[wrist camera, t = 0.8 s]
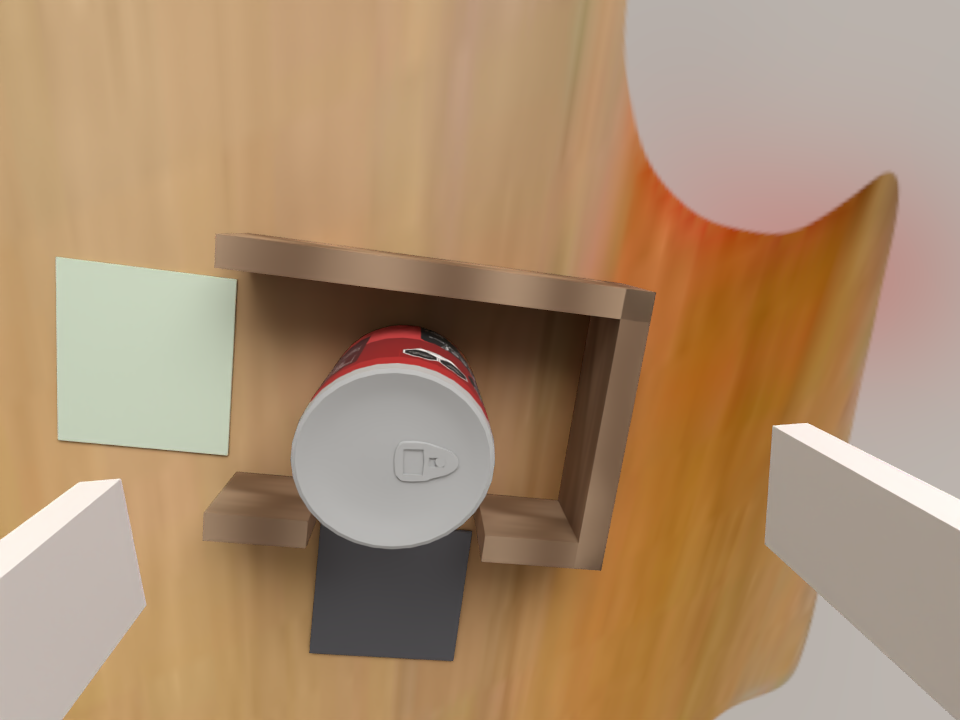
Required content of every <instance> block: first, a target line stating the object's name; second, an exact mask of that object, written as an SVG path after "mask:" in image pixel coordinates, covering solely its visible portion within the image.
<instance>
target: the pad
mask: <svg viewBox="0 0 960 720" xmlns="http://www.w3.org/2000/svg"><path fill="white" fill-rule="evenodd" d="M236 295H237V279H230V278H222V277H214V276H206V275H198V274H190V273H182V272H174V271H166V270H158V269H150V268H142V267H134V266H126V265H118V264H110V263H102V262H94V261H86V260H78V259H70V258H62V257H56V323H57V408H58V440H65V441H76V442H87V443H97V444H108V445H119V446H130V447H141V448H152V449H163V450H174V451H185V452H195V453H206V454H217V455H228V450H229V431H230V411H231V392H232V372H233V353H234V334H235V314H236Z"/></svg>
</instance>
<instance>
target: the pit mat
mask: <svg viewBox="0 0 960 720" xmlns="http://www.w3.org/2000/svg"><path fill="white" fill-rule="evenodd" d="M471 536H472V531H465V530H454V531H453V532H451V533H450V534H448V535H447V536H444V537H442V538H440V539H438V540H435V541H433V542H431V543H428V544H424V545H420V546H416V547H412V548H402V549H383V548H373V547H369V546H365V545H361V544H357V543H354V542H352V541H350V540H347V539H345V538H343V537H341V536H339V535H337V534H335V533H334V532H333V531H331V530H330V529H328V528H327V527H325V526H324V525H323V524H321V527H320V538H319V549H318V561H317V572H316V583H315V595H314V606H313V618H312V629H311V640H310V652H309V653H317V654H335V655H353V656H372V657H390V658H408V659H426V660H444V661H453V659H454V652H455V646H456V639H457V632H458V625H459V618H460V611H461V604H462V598H463V591H464V584H465V577H466V570H467V563H468V556H469V550H470V543H471Z"/></svg>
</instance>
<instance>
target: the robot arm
mask: <svg viewBox="0 0 960 720" xmlns="http://www.w3.org/2000/svg"><path fill="white" fill-rule="evenodd" d="M765 545H766V546H767V547H768V548H770V549H771V550H772V551H773V552H774V553H775V554H776V555H777V556H778V557H779V558H780V559H782V560H783V561H784V562H785V563H786V564H787V565H788V566H789V567H790V568H791V569H792V570H794V571H795V572H796V573H797V574H798V575H799V576H800V577H801V578H802V579H803V580H804V581H805V582H807V583H808V584H809V585H810V586H811V587H812V588H813V589H814V590H815V591H816V592H817V593H819V594H820V595H821V596H822V597H823V598H824V599H825V600H826V601H827V602H828V603H829V604H831V605H832V606H833V607H834V608H835V609H836V610H837V611H838V612H840V614H841V615H843V616H844V617H845V618H846V619H847V620H848V621H849V622H850V623H851V624H852V625H854V626H855V627H856V628H857V629H858V630H859V631H860V632H861V633H862V634H863V635H865V637H867V638H868V639H869V640H870V641H871V642H872V643H873V644H874V645H875V646H876V647H877V648H879V649H880V650H881V651H882V652H883V653H884V654H885V655H886V656H887V657H888V658H889V659H890V660H892V661H893V662H894V663H895V664H896V665H897V666H898V667H899V668H900V669H901V670H902V671H904V672H905V673H906V674H907V675H908V676H909V677H910V678H911V679H912V680H913V681H914V682H915V683H917V684H918V685H919V686H920V687H921V688H922V689H923V690H924V691H925V692H926V693H927V694H929V695H930V696H931V697H932V698H933V699H934V700H935V701H936V702H938V703H939V704H940V705H941V706H942V707H943V708H944V709H945V710H946V711H947V712H948V713H949V714H950V715H952V716H953V717H954V718H955V719H956V720H960V500H959V499H957V498H956V497H954V496H952V495H950V494H947V493H946V492H943V491H942V490H940V489H937V488H936V487H934V486H932V485H930V484H928V483H926V482H923V481H922V480H919V479H917V478H916V477H914V476H911V475H909V474H908V473H906V472H903V471H902V470H900V469H898V468H896V467H894V466H892V465H890V464H888V463H886V462H884V461H882V460H880V459H878V458H876V457H874V456H872V455H870V454H868V453H866V452H864V451H862V450H860V449H858V448H856V447H854V446H852V445H850V444H848V443H846V442H844V441H842V440H840V439H838V438H836V437H834V436H832V435H830V434H828V433H826V432H824V431H822V430H820V429H818V428H816V427H814V426H812V425H810V424H808V423H801V424H789V425H777V426H773V429H772V444H771V459H770V473H769V488H768V503H767V517H766V532H765ZM145 606H146V601H145V596H144V591H143V586H142V581H141V576H140V571H139V566H138V561H137V556H136V551H135V546H134V541H133V536H132V531H131V526H130V521H129V516H128V511H127V506H126V501H125V496H124V491H123V486H122V481H121V479H112V480H99V481H87V482H79V483H77V484H76V485H74V486H73V487H72V488H70V489H69V490H68V491H66V492H65V493H64V494H62V495H61V496H60V497H58V498H57V499H55V500H54V501H53V502H51V503H50V504H49V505H47V506H46V507H45V508H43V509H42V510H40V511H39V512H38V513H36V514H35V515H34V516H32V517H31V518H30V519H28V520H27V521H25V522H24V523H23V524H21V525H20V526H19V527H17V528H16V529H15V530H13V531H12V532H10V533H9V534H8V535H6V536H5V537H4V538H2V539H1V540H0V720H62V719H63V718H64V716H65V715H66V714H67V712H68V711H69V710H70V708H71V707H72V706H73V704H74V703H75V701H76V700H77V699H78V697H79V696H80V695H81V693H82V692H83V691H84V689H85V688H86V687H87V685H88V684H89V682H90V681H91V680H92V678H93V677H94V676H95V674H96V673H97V672H98V670H99V669H100V667H101V666H102V665H103V663H104V662H105V661H106V659H107V658H108V657H109V655H110V654H111V653H112V651H113V650H114V648H115V647H116V646H117V644H118V643H119V642H120V640H121V639H122V638H123V636H124V635H125V634H126V632H127V631H128V629H129V628H130V627H131V625H132V624H133V623H134V621H135V620H136V619H137V617H138V616H139V614H140V613H141V612H142V610H143V609H144V608H145Z"/></svg>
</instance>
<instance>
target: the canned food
mask: <svg viewBox="0 0 960 720" xmlns="http://www.w3.org/2000/svg"><path fill="white" fill-rule="evenodd" d="M494 465H495V453H494V439H493V435H492V431H491V428H490V424H489V420H488V416H487V413H486V410H485V407H484V404H483V402H482V399H481V396H480V393H479V390H478V387H477V384H476V381H475V378H474V375H473V372H472V369H471V367H470V365H469V364H468V362H467V360H466V358H465V356H464V355H463V354H462V353H461V351H460V350H459V349H458V348H457V347H456V346H455V345H454V344H453V343H452V342H450V341H449V340H448V339H447V338H445V337H443V336H441V335H440V334H438V333H436V332H434V331H431V330H428V329H425V328H422V327H417V326H409V325H399V326H389V327H385V328H381V329H377V330H375V331H373V332H371V333H368V334H366V335H364V336H363V337H362V338H360V339H359V340H357V341H356V342H355V343H353V344H352V345H351V346H350V348H349V349H348V350H347V351H346V352H345V353H344V354H343V356H342V357H341V358H340V360H339V361H338V363H337V364H336V365H335V367H334V368H333V370H332V371H331V372H330V374H329V375H328V377H327V378H326V379H325V381H324V382H323V384H322V385H321V386H320V388H319V389H318V391H317V392H316V393H315V395H314V396H313V398H312V400H311V401H310V403H309V405H308V406H307V408H306V410H305V411H304V413H303V415H302V416H301V418H300V420H299V423H298V426H297V429H296V432H295V435H294V439H293V442H292V452H291V466H292V474H293V479H294V482H295V485H296V488H297V490H298V493H299V496H300V497H301V499H302V500H303V502H304V503H305V505H306V507H307V508H308V510H309V511H310V512H311V513H312V514H313V515H314V516H315V517H316V518H317V519H318V521H319V522H320V523H321V524H323V525H324V526H325V527H327V528H328V529H330V530H331V531H333V532H334V533H335V534H337V535H339V536H341V537H343V538H345V539H347V540H350V541H352V542H354V543H357V544H361V545H365V546H369V547H373V548H383V549H402V548H412V547H416V546H420V545H424V544H428V543H431V542H433V541H435V540H438V539H440V538H442V537H444V536H447V535H448V534H450V533H451V532H453V531H454V530H455V529H457V528H458V527H460V526H461V525H463V524H464V523H465V522H466V521H467V520H468V519H469V518H470V517H471V516H472V515H473V514H474V513H475V511H476V510H477V508H478V507H479V505H480V504H481V502H482V501H483V499H484V498H485V496H486V494H487V491H488V489H489V486H490V484H491V481H492V476H493V470H494Z"/></svg>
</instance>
